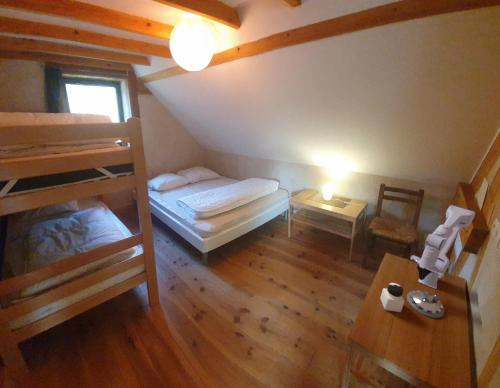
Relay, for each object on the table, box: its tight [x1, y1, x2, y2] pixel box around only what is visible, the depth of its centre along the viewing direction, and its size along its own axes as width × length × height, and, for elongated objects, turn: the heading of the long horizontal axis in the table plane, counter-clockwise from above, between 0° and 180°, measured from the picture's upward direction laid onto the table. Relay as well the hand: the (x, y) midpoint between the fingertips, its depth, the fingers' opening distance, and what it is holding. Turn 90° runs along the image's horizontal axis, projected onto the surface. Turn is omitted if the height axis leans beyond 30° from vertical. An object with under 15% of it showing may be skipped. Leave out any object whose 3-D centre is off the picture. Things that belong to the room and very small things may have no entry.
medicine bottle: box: [380, 282, 405, 313], centre depth 109 cm, size 7×7×12 cm
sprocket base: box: [405, 290, 445, 319], centre depth 112 cm, size 15×15×1 cm
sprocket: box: [409, 289, 444, 314], centre depth 110 cm, size 13×13×5 cm
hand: (421, 278), depth 115 cm, fingers closed
